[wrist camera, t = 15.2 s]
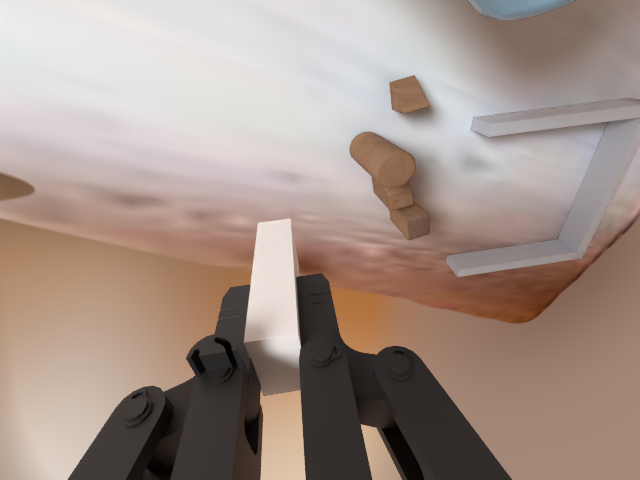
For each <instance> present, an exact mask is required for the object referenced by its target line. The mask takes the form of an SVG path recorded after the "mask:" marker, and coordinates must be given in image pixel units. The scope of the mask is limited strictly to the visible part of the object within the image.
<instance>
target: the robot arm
mask: <svg viewBox="0 0 640 480" xmlns="http://www.w3.org/2000/svg"><path fill="white" fill-rule="evenodd" d="M468 1H469V2H470V3H471V5H472V6H473V7H474V8H475V9H476V10H477V11H478V12H479V13H481V14H482V15H484V16H486V17H493V18H495V19H500V20H505V21H509V20H519V19H525V18H529V17H533V16H537V15H540V14H544V13H547V12H549V11H552V10H555V9H557V8H560V7H562V6H565V5H567V4H569V3H571V2H574V1H576V0H468ZM218 318H219V320H218V322H217V326H216V331H215V334H213V335H210V336H207V337H205V338H203V339H202V340H200V341H198V342H197V343H196V344H195V345H194V346H193V347H192V348H191V350H190V351H189V353H188V355H187V357H186V359H187V361H188V363H189V364H190V366H191V367H192V369H193V371H194V373H195V376H194V377H193V378H191V379H190V380H188V381H186V382H185V383H183V384H180V385H178V386H176V387H173V388H171V389H169V390H167V391H165V392H163V391H162V390H161V388H158V387H155V386H149V387H143V388H140V389H138V390H136V391H134V392H132V393H131V394H130V395H128V396H127V397H126V398H124V399H123V400H122V401H121V403H120V404H119V405H118V406H117V407H116V408H115V410H114V411H113V413H112V414H111V416H110V417H109V419H108V420H107V422H106V423H105V425H104V426H103V428H102V429H101V431H100V432H99V434H98V435H97V437H96V438H95V440H94V441H93V443H92V444H91V446H90V447H89V449H88V450H87V452H86V453H85V455H84V456H83V458H82V459H81V460H80V462H79V464H78V465H77V466H76V468H75V470H74V471H73V472H72V474H71V475H70V477H69V478H68V480H260V475H261V450H262V426H263V413H262V407H261V405H260V391H262V393H263V396H267V395H273V394H279V393H285V392H291V391H297V390H301V404H302V421H303V438H304V456H305V473H306V480H372V476H371V471H370V467H369V462H368V457H367V452H366V448H365V443H364V438H363V434H362V429H361V424H363V425H367V426H372V427H377V429H378V431H379V434H380V435H381V437H382V439H383V442H384V443H385V445H386V448H387V450H388V452H389V454H390V456H391V458H392V460H393V462H394V464H395V466H396V468H397V470H398V472H399V474H400V476H401V478H402V480H512V479H511V478H510V476H509V475H508V474H507V472H506V471H505V470H504V469H503V467H502V466H501V465H500V463H499V462H498V461H497V459H496V458H495V457H494V455H493V454H492V453H491V451H490V450H489V449H488V447H487V446H486V445H485V444H484V442H483V441H482V439H481V438H480V437H479V435H478V434H477V433H476V431H475V430H474V429H473V427H472V426H471V425H470V423H469V422H468V421H467V420H466V418H465V417H464V415H463V414H462V413H461V411H460V410H459V409H458V408H457V406H456V405H455V404H454V402H453V401H452V400H451V398H450V397H449V396H448V394H447V393H446V392H445V390H444V389H443V388H442V386H441V385H440V384H439V382H438V381H437V380H436V379H435V377H434V376H433V374H432V373H431V372H430V370H429V369H428V368H427V367H426V365H425V364H424V363H423V361H422V360H421V358H419V357H418V356H417V355H416V354H415V353H414V352H413V351H411V350H409V349H407V348H405V347H399V346H391V347H386V348H385V349H383V350H382V351H380V352H379V353H378V354H377V355H375V354H368V353H362V352H358V351H355V350H353V349H351V348H350V347H348V346H347V345H346V344H345V343H344V342H343V340H342V339H341V337H340V333H339V328H338V323H337V319H336V314H335V309H334V305H333V300H332V296H331V290H330V285H329V281H328V280H327V279H326V278H325V277H324V276H323V274H322V273H320V274H313V275H306V276H299V265H298V259H297V253H296V247H295V241H294V235H293V229H292V224H291V218H290V219H283V220H276V221H268V222H261V223H258V228H257V236H256V245H255V253H254V261H253V269H252V278H251V285H244V286H237V287H231V288H230V289H229V290H228V292H227V293H226V294H225V296H224V297H223V300H222V304H221V311H220V313H219V317H218Z"/></svg>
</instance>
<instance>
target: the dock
mask: <svg viewBox="0 0 640 480" xmlns="http://www.w3.org/2000/svg"><path fill="white" fill-rule="evenodd" d="M601 122H608V124H607V126H606V128H605V130H604V133H603V135H602V137H601V140H600V142H599V144H598V147H597V149H596V151H595V154H594V156H593V158H592V161H591V163H590V165H589V168H588V170H587V172H586V175H585V177H584V179H583V182H582V184H581V186H580V189H579V191H578V193H577V196H576V198H575V200H574V203H573V205H572V207H571V209H570V212H569V214H568V216H567V219H566V221H565V223H564V226H563V228H562V230H561V233H560V235H559V237H558V239H555V240H549V241H542V242H535V243H528V244H521V245H515V246H508V247H501V248H494V249H487V250H480V251H474V252H467V253H460V254H453V255H447V260H446V263H447V264H448V265H449V267H450V268H451V269H452V270H453V272H454V273H455V274H456V276H457V277H461V276H467V275H474V274H481V273H487V272H494V271H501V270H507V269H514V268H521V267H527V266H534V265H540V264H547V263H554V262H560V261H567V260H574V259H580V258H582V257H583V255H584V253H585V251H586V249H587V247H588V245H589V243H590V241H591V239H592V237H593V235H594V233H595V231H596V229H597V227H598V225H599V224H600V222H601V220H602V218H603V216H604V214H605V212H606V210H607V208H608V206H609V204H610V202H611V200H612V198H613V196H614V194H615V192H616V190H617V188H618V186H619V184H620V182H621V180H622V178H623V176H624V174H625V172H626V170H627V168H628V166H629V164H630V162H631V160H632V158H633V157H634V155H635V153H636V151H637V149H638V147H639V145H640V99H633V98H624V99H616V100H608V101H600V102H592V103H584V104H576V105H568V106H560V107H552V108H544V109H536V110H528V111H520V112H512V113H504V114H496V115H488V116H480V117H473V120H472V126H471V130H474V131H476V132H478V133H481V134H483V135H485V136H488V137H492V136H500V135H508V134H515V133H523V132H531V131H539V130H546V129H554V128H562V127H570V126H577V125H585V124H593V123H601Z"/></svg>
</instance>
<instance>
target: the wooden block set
mask: <svg viewBox="0 0 640 480" xmlns="http://www.w3.org/2000/svg"><path fill="white" fill-rule="evenodd" d="M390 93H391V104H392V110H395V111H398V112H401V113H404V114H405V113H409V112H412V111H416V110H419V109H422V108H426V107H429V106H430V105H429V103H428V101H427V99H426V97H425V95H424V93H423V91H422V89H421V87H420V85H419V83H418V81H417V79H416V77H415V75H413V76H410V77H407V78H403V79H400V80H396V81H393V82H390ZM350 154H351V156H352V158H353V159H354V160H355V161H356V162H357V163H358V164H359V165H360V166H362V167H363V168H364V169H365V170H366V171H367V172H368V173H369V174H370V175H371V176H372V182H373V189H374V193H375V194H376V195H377V197H378V198H379V199H380V200H381V201H382V202H383V203H384V204H385V205H386V206H387V207H388V208H389V211H390V219H391V221H392V222H393V223H394V224H395V225H396V227H397V228H398V229H399V230H400V231H401V232H402V233H403V235H404V236H405V237H406V238H407V239H408V240H412V239H415V238H418V237H421V236H425V235H428V234H429V233H430V229H429V215H428V213H426V212H425V211H424V210H423V209H422V208H421V207H419V206H418V205H417V204H416V203H415V202H414V201H413V194H412V191H411V189H410V186H409V184H408V181H409V180H410V178H411V177H412V176H413V174H414V171H415V166H416V164H415V160H414V158H413V156H412V155H411V154H409V153H408V152H406V151H404V150H402V149H401V148H399V147H397V146H396V145H394V144H392V143H390V142H389V141H387V140H385V139H384V138H382V137H380V136H378V135H377V134H375V133H373V132H363V133H361V134H359V135H357V136H356V137H355V138H354V139H353V141H352V142H351V145H350Z"/></svg>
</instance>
